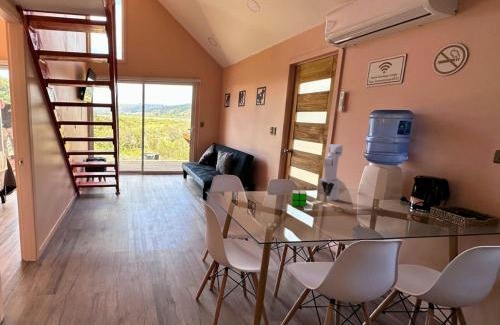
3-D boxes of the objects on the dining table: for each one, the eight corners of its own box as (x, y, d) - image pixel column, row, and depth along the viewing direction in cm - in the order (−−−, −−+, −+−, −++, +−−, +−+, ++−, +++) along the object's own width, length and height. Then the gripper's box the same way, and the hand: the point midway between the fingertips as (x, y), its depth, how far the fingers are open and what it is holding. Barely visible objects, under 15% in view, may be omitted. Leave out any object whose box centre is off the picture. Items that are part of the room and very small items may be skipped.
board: (317, 201, 229) (317, 200, 229) (346, 208, 211) (347, 207, 211) (309, 203, 222) (309, 202, 222) (339, 211, 204) (339, 210, 204)
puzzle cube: (304, 203, 223) (305, 190, 221) (306, 207, 213) (306, 193, 212) (291, 203, 224) (291, 190, 222) (291, 206, 214) (292, 193, 213)
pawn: (326, 194, 219) (326, 184, 218) (331, 195, 216) (332, 185, 215) (322, 195, 216) (323, 184, 215) (328, 196, 213) (328, 185, 212)
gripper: (316, 173, 216) (315, 191, 218) (334, 176, 206) (333, 195, 208) (322, 172, 221) (321, 190, 223) (339, 175, 210) (338, 194, 212)
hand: (327, 192), depth 216 cm, fingers closed on pawn, 3 cm apart
